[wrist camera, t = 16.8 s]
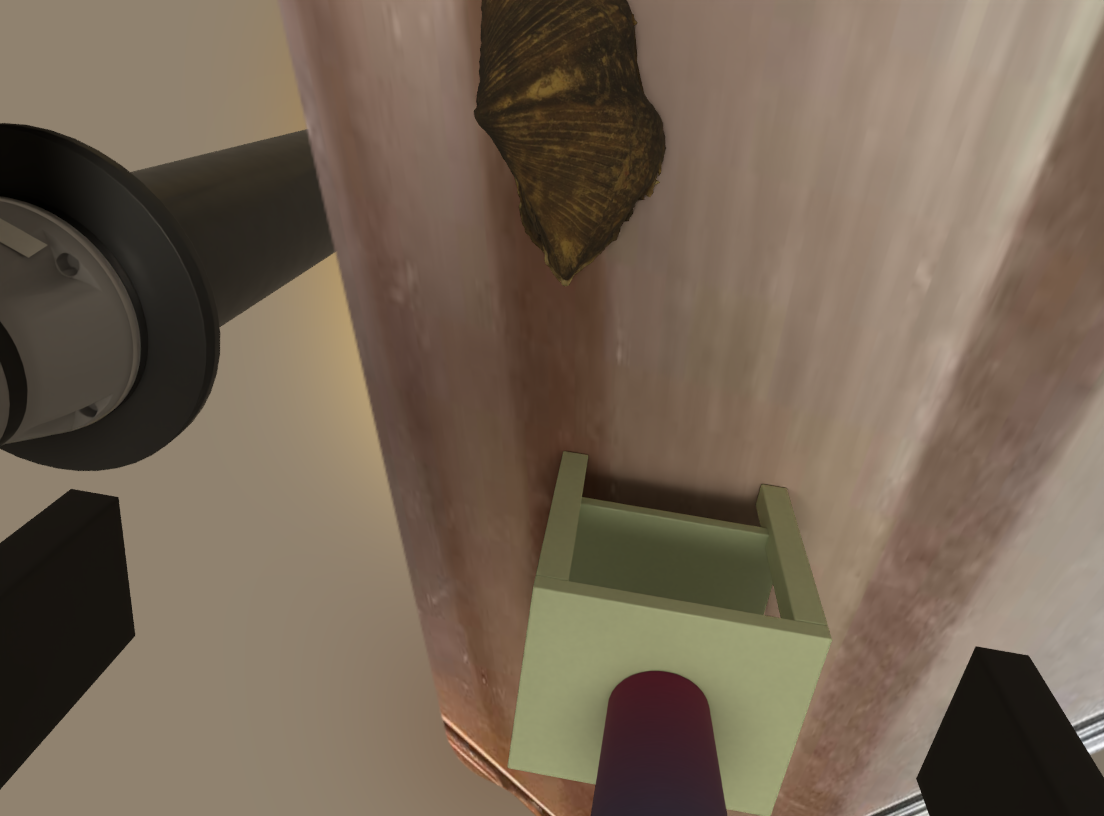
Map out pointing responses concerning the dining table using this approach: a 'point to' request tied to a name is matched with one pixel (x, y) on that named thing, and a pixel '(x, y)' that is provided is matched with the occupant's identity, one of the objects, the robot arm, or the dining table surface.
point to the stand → (669, 632)
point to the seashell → (569, 120)
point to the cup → (658, 751)
